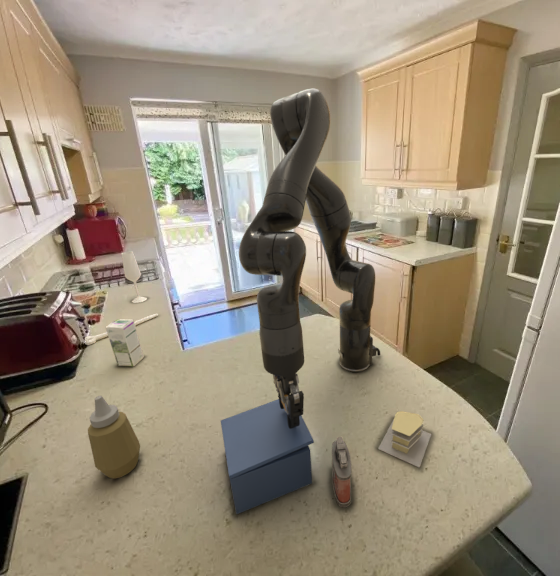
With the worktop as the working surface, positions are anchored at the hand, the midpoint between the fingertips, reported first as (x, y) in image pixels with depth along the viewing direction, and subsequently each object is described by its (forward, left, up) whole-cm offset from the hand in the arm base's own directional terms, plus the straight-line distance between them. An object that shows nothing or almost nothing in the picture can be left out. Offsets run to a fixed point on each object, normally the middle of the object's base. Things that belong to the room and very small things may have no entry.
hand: (289, 415), depth 62 cm
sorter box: (+6, 0, -12) cm, 13 cm away
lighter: (-7, +10, -12) cm, 17 cm away
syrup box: (+38, -57, -12) cm, 69 cm away
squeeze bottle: (+34, -13, -12) cm, 38 cm away
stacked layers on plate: (-24, +6, -12) cm, 28 cm away
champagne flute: (+42, -117, -12) cm, 125 cm away
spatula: (+44, -85, -12) cm, 96 cm away
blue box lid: (+5, 0, -2) cm, 6 cm away
